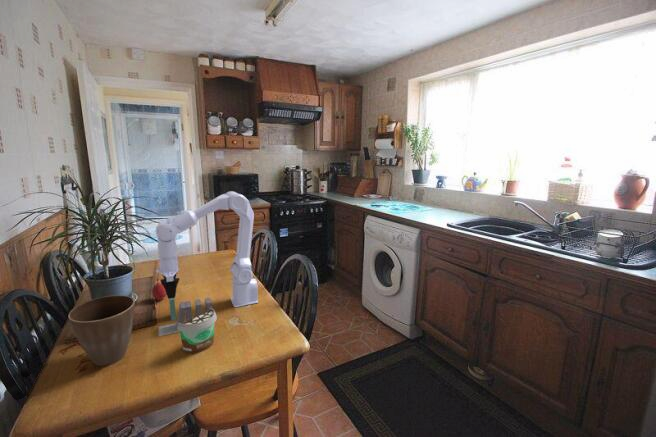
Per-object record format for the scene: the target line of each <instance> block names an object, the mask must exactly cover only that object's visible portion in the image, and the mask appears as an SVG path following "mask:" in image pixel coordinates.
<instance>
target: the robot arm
mask: <svg viewBox="0 0 656 437" xmlns="http://www.w3.org/2000/svg"><path fill="white" fill-rule="evenodd" d="M229 209H230V210H232V211H234V212H235V214H236V215H238V217H239V223H238V224H239V225H238V232H237V242H236V243H237V244H236V245H237V246H236V252H235V253H236V254H235V257H234V258H233V263H232V265H230V269H229V270H230V271H229V272H230V273H231V275H232V276H233V277H232V280H231V281H232V297H230V301H231V303H232V305H233V308H239V307H243V306H247V305H248V306H249V305H253V304H257V303H259V294H258V293H259V290H258V289H259V288H258V282H257V279H256V278H254V273H253V269H252V262H251V259H250V258H251V247H252V239H253V238H252V237H253V229H254V221H255V220H254V219H255V213H254V210H253V209H252V206H251V204H250V200H249V199H247V197H246V196H244V195H243V194H241V193H238V192H236V191H233V190H231V191H227V192H225V193H223V194H220V195H219V196H217V197H215V198H213V199H212V200H210V201H208V202H207V203H205V204H203V205H201V206H199V207H198V208H196V209H195V210H192V211H191V210H186V211H185V210H181V211H179V214H178V215H176V216H173V217H172V218H167V219H166V221H162V222H159V223H158V224H157V226H156V227H155V230H154V231H155V234H156V235H157V240H156V241H157V252H158V262H159V269H156V270H155V272H156V274H161V275H162V277H163V278H162V279H160V281H161V284H162V285H163V287H164V288H165V291H166V294H167V296H166V297H167V298H168V299H170V298H174V299H175V298H176V294H177V286H178V284H179V281H180V277H177V274H178V272H179V271H180V267H179V262H178V261H179V260H178V248H177V242H176V237H177V235H179V234H181V233H183V232H185V231H187V230H188V229H190V228H192V227H194V226H197V224H198V220H200V219H201V218H202V219H203V217H206V216H208V215H210V214H212V213H214V212H216V211H218V210H227V211H229Z"/></svg>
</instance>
